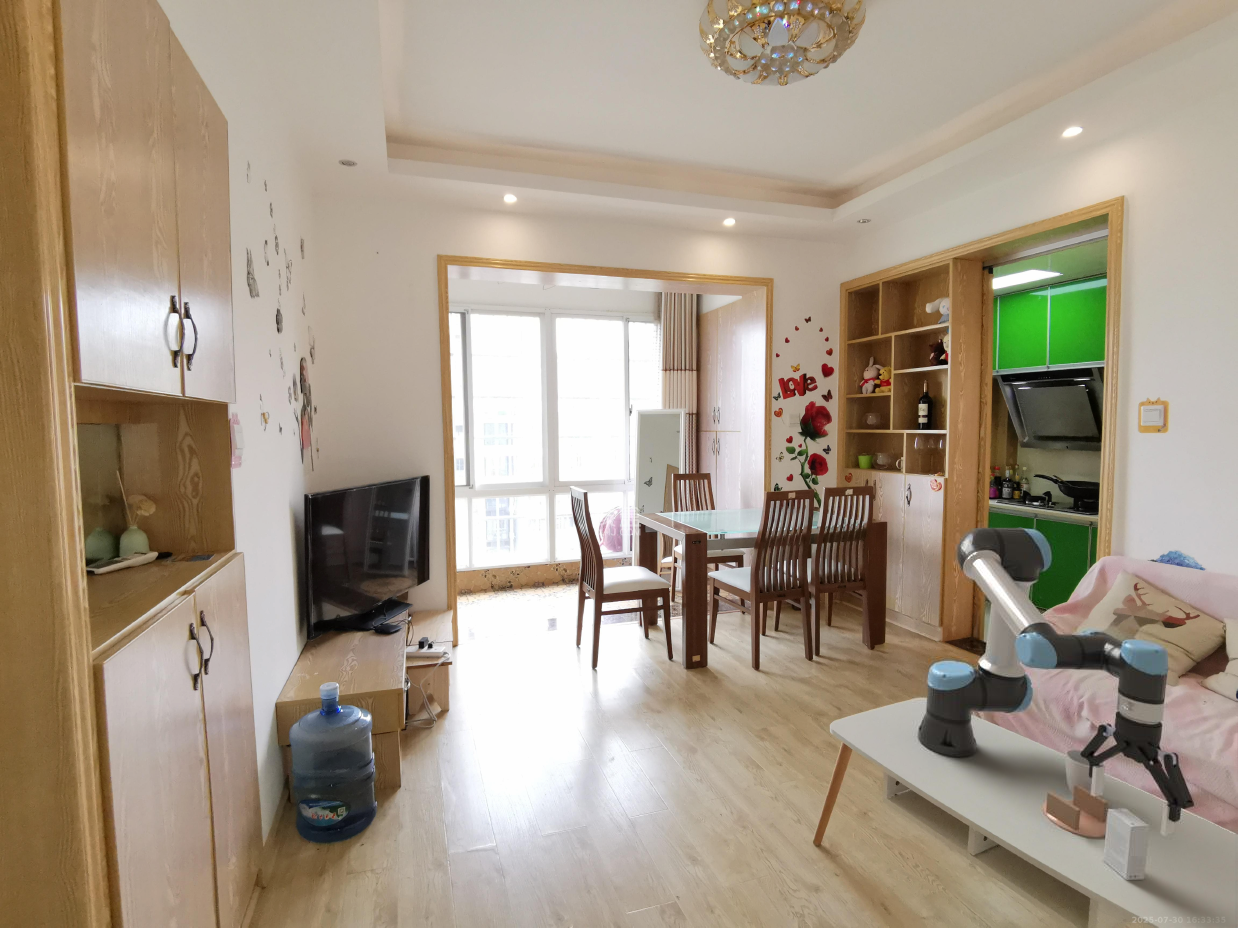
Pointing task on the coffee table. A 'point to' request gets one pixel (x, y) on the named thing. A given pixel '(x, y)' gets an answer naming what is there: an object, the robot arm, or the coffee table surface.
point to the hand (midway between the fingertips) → (1130, 812)
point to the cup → (1078, 770)
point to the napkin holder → (1078, 813)
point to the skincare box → (1126, 844)
